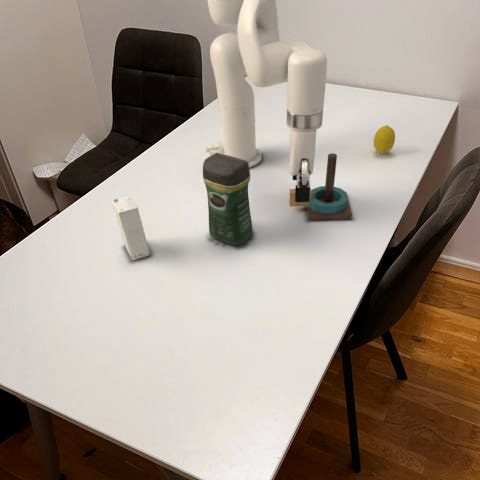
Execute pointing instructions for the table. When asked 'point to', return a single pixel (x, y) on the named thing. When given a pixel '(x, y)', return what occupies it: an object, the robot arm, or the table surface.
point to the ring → (321, 206)
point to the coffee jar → (228, 198)
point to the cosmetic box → (131, 227)
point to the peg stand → (330, 195)
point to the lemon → (384, 139)
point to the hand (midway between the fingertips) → (300, 190)
